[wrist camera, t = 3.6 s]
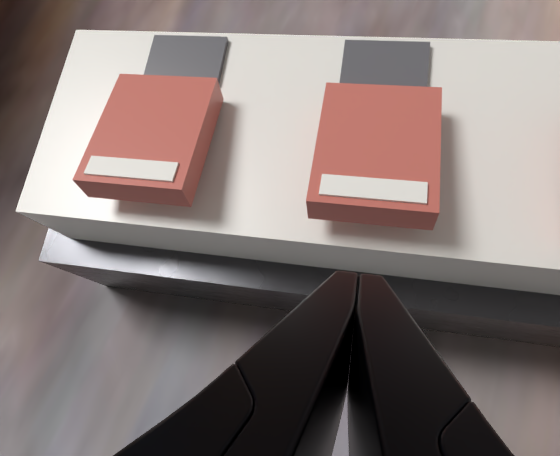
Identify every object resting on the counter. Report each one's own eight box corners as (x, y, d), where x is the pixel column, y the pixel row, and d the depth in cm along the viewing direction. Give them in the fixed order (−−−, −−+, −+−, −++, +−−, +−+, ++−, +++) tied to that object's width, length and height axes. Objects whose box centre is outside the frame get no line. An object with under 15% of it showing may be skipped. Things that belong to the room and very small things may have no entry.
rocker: (223, 99, 15) (216, 75, 14) (191, 207, 13) (180, 188, 12) (131, 94, 15) (118, 72, 14) (87, 196, 13) (71, 178, 13)
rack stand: (653, 151, 20) (745, 83, 15) (672, 361, 18) (789, 357, 13) (148, 120, 25) (100, 59, 20) (105, 285, 22) (38, 260, 17)
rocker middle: (435, 110, 13) (442, 85, 13) (432, 230, 12) (440, 211, 11) (327, 104, 14) (326, 80, 13) (308, 218, 12) (305, 199, 11)
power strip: (714, 107, 15) (804, 41, 12) (744, 316, 13) (858, 299, 10) (116, 80, 19) (73, 25, 16) (69, 238, 17) (11, 209, 14)
